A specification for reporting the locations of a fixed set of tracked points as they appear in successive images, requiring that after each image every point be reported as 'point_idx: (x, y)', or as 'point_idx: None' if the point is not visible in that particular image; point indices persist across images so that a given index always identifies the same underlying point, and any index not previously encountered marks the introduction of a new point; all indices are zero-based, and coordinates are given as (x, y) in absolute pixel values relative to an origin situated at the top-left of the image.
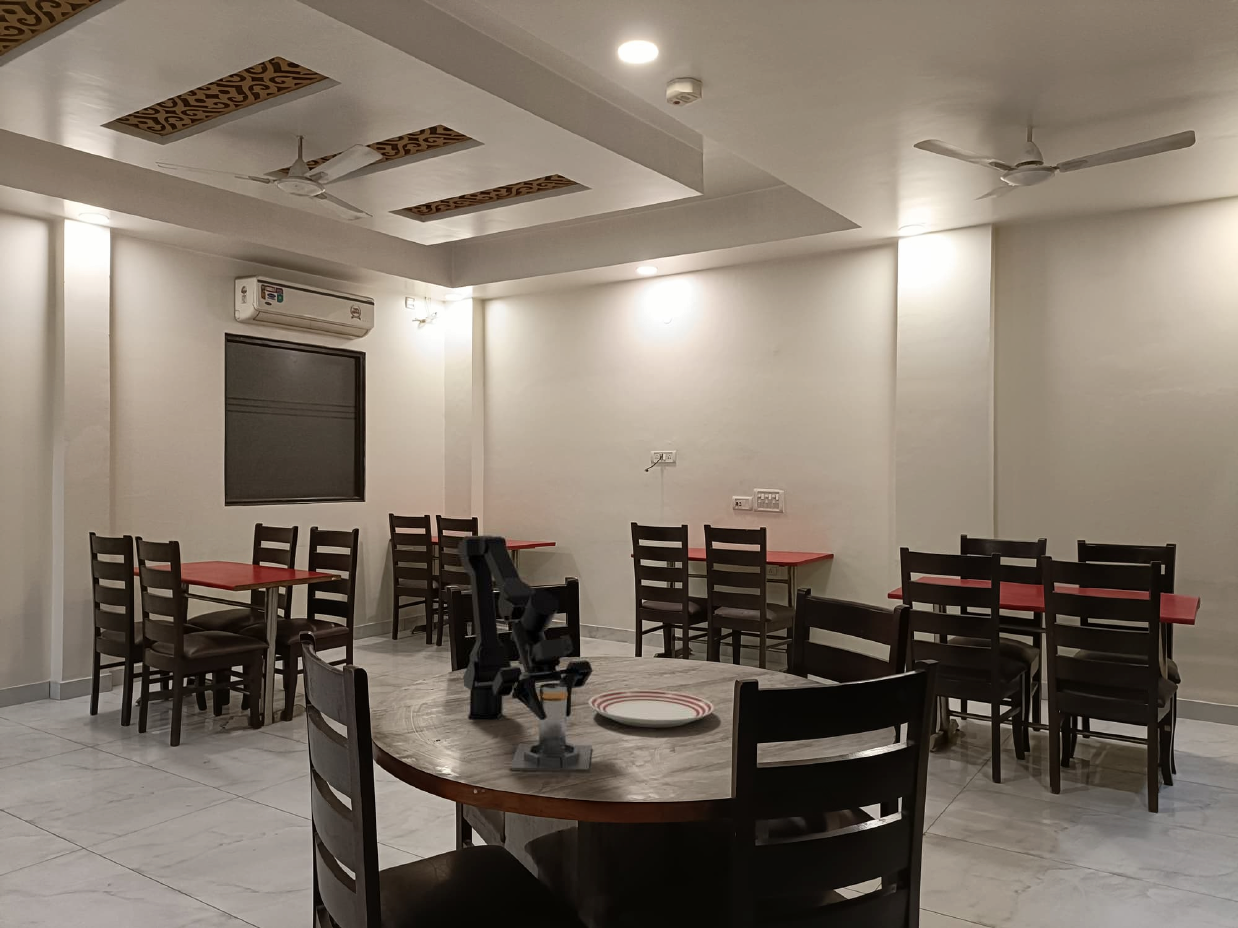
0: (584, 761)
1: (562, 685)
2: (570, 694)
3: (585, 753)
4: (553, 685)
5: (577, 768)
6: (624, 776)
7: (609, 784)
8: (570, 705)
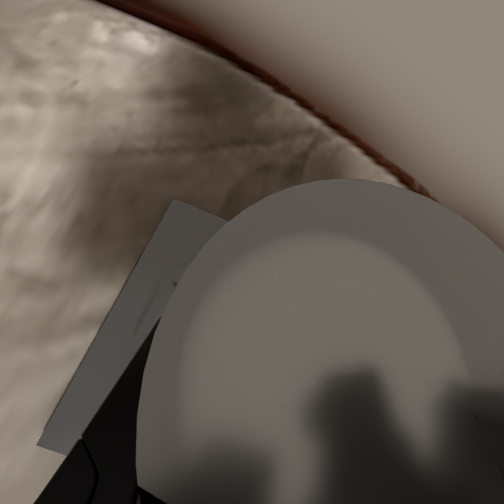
0: (156, 260)
1: (224, 426)
2: (73, 460)
3: (115, 340)
4: (397, 461)
5: (200, 212)
6: (97, 140)
7: (161, 113)
8: (139, 353)
